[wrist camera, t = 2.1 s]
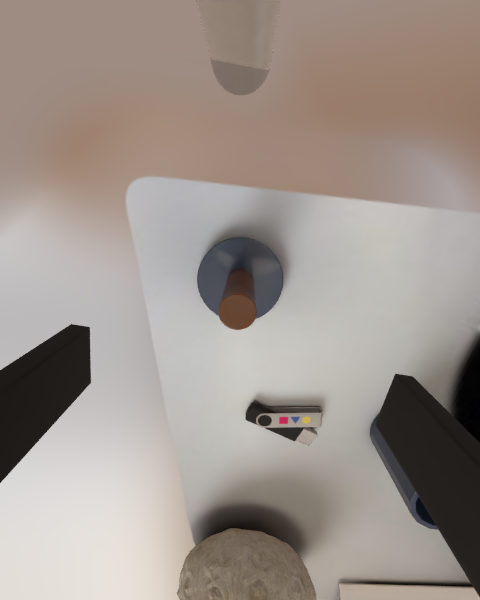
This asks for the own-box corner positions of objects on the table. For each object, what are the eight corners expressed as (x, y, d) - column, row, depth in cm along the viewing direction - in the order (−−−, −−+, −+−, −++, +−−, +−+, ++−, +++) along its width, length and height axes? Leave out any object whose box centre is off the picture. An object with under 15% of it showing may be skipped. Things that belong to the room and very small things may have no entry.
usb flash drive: (243, 414, 32) (243, 421, 31) (265, 381, 30) (265, 387, 29) (306, 441, 33) (308, 448, 32) (330, 411, 31) (332, 417, 30)
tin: (381, 399, 31) (429, 466, 23) (443, 408, 31) (512, 478, 23) (361, 448, 33) (398, 524, 25) (419, 456, 34) (474, 535, 25)
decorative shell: (318, 588, 40) (325, 706, 31) (207, 571, 45) (185, 670, 36) (308, 514, 34) (313, 636, 25) (178, 502, 38) (142, 602, 29)
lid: (204, 230, 25) (182, 240, 17) (289, 244, 26) (312, 262, 17) (195, 310, 28) (171, 356, 19) (272, 322, 28) (284, 373, 19)
